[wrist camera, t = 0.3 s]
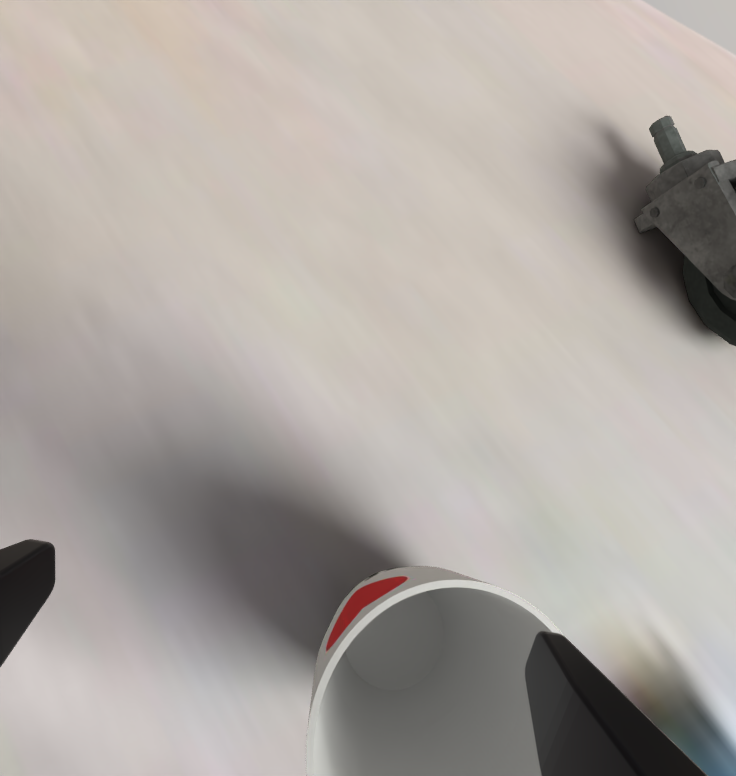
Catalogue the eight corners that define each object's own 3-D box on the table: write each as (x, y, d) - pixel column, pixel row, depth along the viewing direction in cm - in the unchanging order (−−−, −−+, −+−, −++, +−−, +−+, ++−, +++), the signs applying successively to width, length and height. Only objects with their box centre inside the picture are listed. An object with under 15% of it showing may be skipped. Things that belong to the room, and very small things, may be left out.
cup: (460, 532, 24) (566, 558, 14) (490, 710, 22) (634, 883, 12) (298, 557, 22) (290, 606, 13) (317, 748, 21) (325, 973, 11)
